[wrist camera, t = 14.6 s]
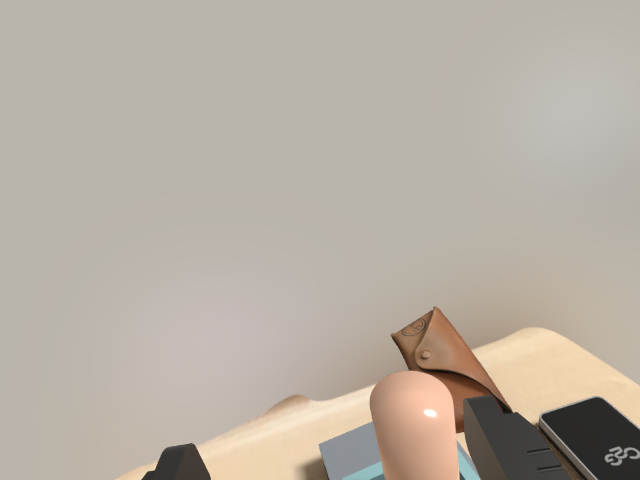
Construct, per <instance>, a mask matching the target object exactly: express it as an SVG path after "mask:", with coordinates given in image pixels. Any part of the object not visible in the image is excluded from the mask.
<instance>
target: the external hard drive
mask: <svg viewBox="0 0 640 480" xmlns="http://www.w3.org/2000/svg"><path fill="white" fill-rule="evenodd" d="M539 428H540V430H541V431H542V432H543V433H544V435H545V436H546V437H547V438H548V439H549V440H550V441H551V442H552V444H553V445H554V446H555V447H556V448H557V449H558V450H559V451H560V453H561V454H562V455H563V456H564V457H565V458H566V459H567V460H568V462H569V463H570V464H571V465H572V466H573V467H574V468H575V470H576V471H577V472H578V473H579V474H580V475H581V476H582V477H583V479H584V480H640V428H639V427H638V426H637V425H636V424H634V423H633V422H632V421H631V420H630V419H628V418H627V417H626V416H625V415H624V414H622V413H621V412H620V411H619V410H618V409H616V408H615V407H614V406H613V405H612V404H610V403H609V402H608V401H607V400H605V399H604V398H602V397H599V396H593V397H590V398H587V399H584V400H581V401H577V402H574V403H571V404H568V405H565V406H562V407H559V408H556V409H553V410H549V411H546V412H543V413H541V414H540V417H539Z"/></svg>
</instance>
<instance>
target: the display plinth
mask: <svg viewBox="0 0 640 480" xmlns="http://www.w3.org/2000/svg"><path fill="white" fill-rule="evenodd" d="M456 441H457V440H456ZM318 445H319V448H320V451H321V455H322V458H323V462H324V465H325V468H326V471H327V474H328V477H329V480H385V477H384V472H383V467H382V462H381V458H380V453H379V448H378V443H377V438H376V434H375V429H374V424H373V422H371V423H368V424H366V425H363V426H361V427H359V428H356V429H354V430H352V431H349V432H347V433H344V434H342V435H340V436H337V437H335V438H333V439H330V440H328V441H325V442H323V443H321V444H318ZM457 452H458V464H459V476H460V480H481V479H480V477H479V474H478V472H477V470H476V468H475V465H474V463H473V461H472V460H471V459H470V457H469V456H468V455H467V453H466V452H465V451H464V449H463V448H462V447H461V445H460V444H459V443H458V441H457Z"/></svg>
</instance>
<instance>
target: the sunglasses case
mask: <svg viewBox="0 0 640 480" xmlns="http://www.w3.org/2000/svg"><path fill="white" fill-rule="evenodd" d="M391 337H392V339H393V340H394V342H395V343H396V345H397V346H398V348H399V350H400V351H401V353H402V355H403V358H404V359H405V362H406V364H407V366H408V369H409V371H418V372H423V373H426V374H429V375H431V376H433V377H435V378H437V379H438V380H439V381H441V382H442V383H443V384H444V385H445V386H446V387H447V389H448V390H449V392H450V394H451V396H452V399H453V406H454V417H455V429H456V433H462V432H465V431H464V413H463V399H465V398H471V397H477V396H483V395H492V396H493V398H494V399H495V400H496V402H497V404H498V405H499V407H500V409H501V410H502V412H503V414H509V413H513V411H512V409H511V408H510V406H509V405H508V404H507V402H506V401H505V399H504V398H503V396H502V395H501V393H500V391H499V390H498V389H497V387H496V386H495V384H494V382H493V381H492V379H491V378H490V377H489V375H488V374H487V372H486V371H485V369H484V368H483V367H482V365H481V364H480V362H479V361H478V360H477V358H476V357H475V356H474V354H473V353H472V351H471V350H470V349H469V347H468V346H467V344H466V343H465V342H464V340H463V339H462V337H461V336H460V335H459V333H458V332H457V331H456V329H455V328H454V327H453V325H452V324H451V323H450V322H449V321H448V319H447V318H446V317H445V316H444V315H443V314H442V312H441V311H440V309H439V308H437V307H434V308H433V310H432V311H430V312H428V313H427V314H425V315H424V316H422V317H421V318H419V319H417V320H416V321H414V322H412V323H411V324H409V325H408V326H406V327H405V328H403V329H402V330H400V331H399V332H397V333H392V334H391Z"/></svg>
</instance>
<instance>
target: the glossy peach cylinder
mask: <svg viewBox="0 0 640 480" xmlns="http://www.w3.org/2000/svg"><path fill="white" fill-rule="evenodd" d="M370 409H371V414H372V419H373V424H374V429H375V434H376V438H377V443H378V448H379V453H380V458H381V462H382V467H383V472H384V477H385V480H460V476H459V464H458V452H457V441H456V429H455V417H454V406H453V399H452V396H451V394H450V392H449V390H448V389H447V387H446V386H445V385H444V384H443V383H442V382H441V381H439V380H438V379H437V378H435V377H433V376H431V375H429V374H426V373H423V372H418V371H400V372H396V373H393V374H390V375H388V376H386V377H385V378H383V379H382V380H381V381H379V382H378V383H377V385H376V386H375V387H374V389H373V391H372V393H371V396H370Z"/></svg>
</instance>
